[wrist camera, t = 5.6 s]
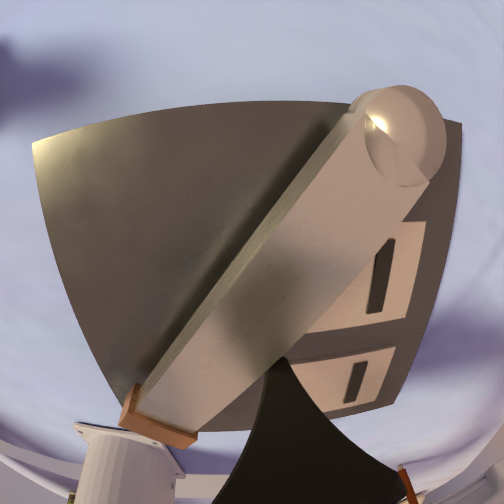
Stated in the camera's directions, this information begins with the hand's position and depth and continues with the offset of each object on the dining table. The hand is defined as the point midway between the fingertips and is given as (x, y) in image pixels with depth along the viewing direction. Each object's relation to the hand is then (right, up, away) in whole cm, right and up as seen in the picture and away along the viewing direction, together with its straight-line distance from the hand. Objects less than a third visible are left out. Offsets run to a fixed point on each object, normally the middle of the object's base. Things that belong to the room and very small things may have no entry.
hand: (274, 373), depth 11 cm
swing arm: (-1, +3, -1) cm, 3 cm away
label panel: (0, +2, +2) cm, 3 cm away
